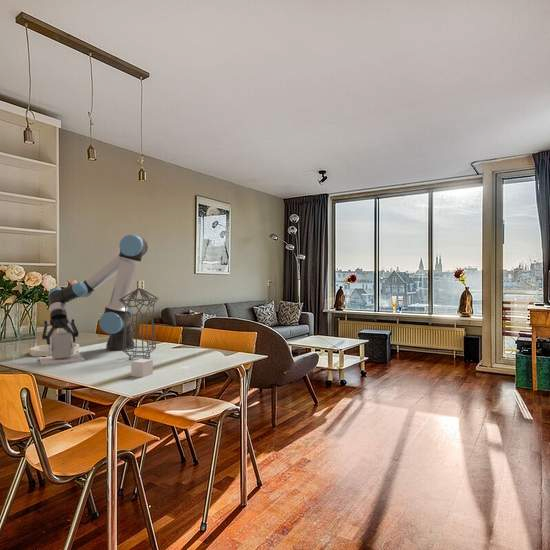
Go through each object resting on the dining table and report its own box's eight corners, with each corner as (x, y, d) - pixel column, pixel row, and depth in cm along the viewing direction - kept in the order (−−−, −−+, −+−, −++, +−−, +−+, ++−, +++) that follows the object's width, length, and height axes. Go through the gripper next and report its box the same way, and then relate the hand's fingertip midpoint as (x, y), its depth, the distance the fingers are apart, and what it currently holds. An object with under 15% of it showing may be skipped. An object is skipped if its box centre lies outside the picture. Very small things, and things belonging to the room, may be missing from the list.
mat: (78, 355, 212) (78, 353, 212) (84, 360, 197) (84, 358, 197) (38, 359, 202) (38, 357, 202) (41, 365, 187) (41, 363, 187)
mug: (74, 356, 199) (74, 333, 199) (56, 358, 193) (56, 335, 193) (62, 353, 207) (63, 331, 207) (45, 355, 200) (45, 333, 200)
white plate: (86, 348, 233) (86, 343, 233) (64, 356, 209) (64, 350, 209) (46, 348, 233) (46, 343, 233) (20, 356, 210) (20, 350, 210)
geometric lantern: (117, 361, 195) (117, 288, 195) (131, 355, 210) (130, 287, 211) (149, 362, 194) (149, 288, 194) (161, 355, 209) (160, 287, 209)
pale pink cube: (131, 376, 166) (131, 361, 166) (141, 373, 172) (141, 358, 172) (142, 377, 164) (142, 362, 164) (152, 374, 169) (152, 359, 169)
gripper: (80, 316, 219) (85, 350, 205) (34, 319, 207) (36, 355, 193) (81, 307, 214) (86, 341, 201) (34, 309, 202) (36, 345, 189)
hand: (62, 348), depth 197 cm, fingers open, 9 cm apart
